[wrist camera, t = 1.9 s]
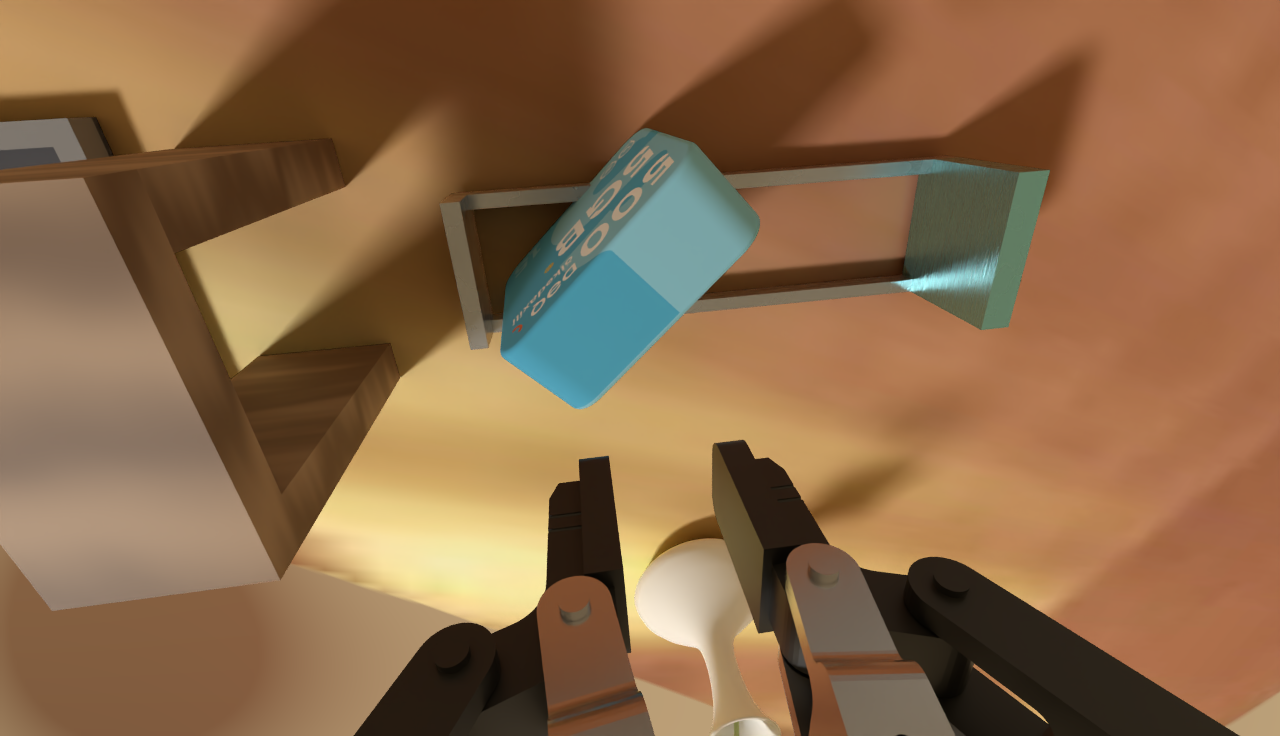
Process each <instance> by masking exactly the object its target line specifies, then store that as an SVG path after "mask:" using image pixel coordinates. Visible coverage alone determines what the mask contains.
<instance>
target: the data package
mask: <svg viewBox="0 0 1280 736" xmlns="http://www.w3.org/2000/svg"><path fill="white" fill-rule="evenodd" d="M590 184H591V186H590V188H589V189H588V190H587V191H586V192H585V193H584V194H583V195H582V197H581V198H580V199H579V200H578V201H575V202H573V203H572V204H571V205H570V206H569V207H568V209H567V210H566V211H565V212H564V213H563V214H562V215H561V216H560V218H559V219H558V220H557V221H556V222H555V223H554V224H553V226H552V227H551V228H550V229H549V230H548V231H547V232H546V234H545V235H544V236H543V237H542V238H541V239H540V240H539V242H538V243H537V244H536V245H535V246H534V247H533V248H532V249H531V251H530V252H529V253H528V254H527V255H526V256H525V257H524V259H523V260H522V261H521V262H520V263H519V265H518V266H517V267H516V268H515V270H514V271H513V273H512V274H511V276H510V277H509V279H508V281H507V284H506V289H505V301H504V313H503V325H502V337H501V349H500V351H501V355H502V357H503V358H504V359H505V360H507V361H508V362H510V363H511V364H512V365H514V366H515V367H517V368H518V369H520V370H521V371H522V372H524V373H525V374H527V375H528V376H529V377H531V378H532V379H534V380H535V381H537V382H538V383H539V384H541V385H542V386H544V387H545V388H547V389H548V390H549V391H551V392H552V393H554V394H555V395H556V396H558V397H559V398H561V399H562V400H564V401H565V402H566V403H568V404H569V405H571V406H572V407H574V408H576V409H584V408H587V407H589V406H591V405H593V404H594V403H595V402H597V401H598V400H599V399H600V398H601V397H602V396H603V395H604V394H605V393H606V392H607V391H608V390H609V389H610V388H611V387H612V386H613V385H614V384H615V383H616V382H617V381H618V380H619V379H620V378H621V377H622V376H623V375H624V374H625V373H626V372H627V371H628V370H629V369H630V368H631V367H632V366H633V365H634V364H635V363H636V362H637V361H638V360H639V359H640V358H641V357H642V356H643V355H644V354H645V353H646V352H647V351H648V350H649V349H650V348H651V347H652V346H653V345H654V344H655V343H656V342H657V341H658V340H659V339H660V338H661V337H662V336H663V335H664V334H665V333H666V332H667V331H668V330H669V329H670V328H671V327H672V326H673V325H674V324H675V323H676V322H677V321H678V320H679V319H680V318H681V317H682V316H683V314H684V313H685V312H686V311H687V310H688V309H689V308H690V307H691V306H692V305H693V304H694V303H695V302H696V301H697V300H698V299H699V298H700V297H701V296H702V295H703V294H704V293H705V292H706V291H707V290H708V289H709V288H710V287H711V286H712V285H713V284H714V283H715V282H716V281H717V280H718V279H719V278H720V277H721V276H722V275H723V274H724V273H725V272H726V271H727V270H728V269H729V268H730V267H731V266H732V265H733V264H734V263H735V262H736V261H737V260H738V259H739V258H740V257H741V256H742V255H743V254H744V253H745V252H746V251H747V249H748V248H749V247H750V246H751V244H752V243H753V241H754V240H755V238H756V236H757V234H758V231H759V227H760V219H759V216H758V215H757V213H756V212H755V211H754V210H753V209H752V208H751V207H750V205H749V204H748V203H747V202H746V201H745V200H744V199H743V197H742V196H741V195H740V194H739V193H738V192H737V191H736V189H735V188H734V187H733V186H732V185H731V184H730V183H729V181H728V180H727V179H726V178H725V177H724V176H723V175H722V173H721V172H720V171H719V170H718V169H717V168H716V167H715V165H714V164H713V163H712V162H711V161H710V160H709V159H708V157H707V156H706V155H705V154H704V153H703V152H702V151H701V149H700V148H699V147H698V146H697V145H696V144H695V143H693V142H690V141H687V140H684V139H681V138H678V137H674V136H671V135H668V134H665V133H662V132H659V131H655V130H652V129H649V128H644V129H641V130H640V131H638V132H637V133H635V134H634V135H633V136H632V137H631V138H630V139H629V140H628V141H627V142H626V143H625V144H624V145H623V146H622V147H621V148H620V149H619V150H618V152H617V153H616V154H615V155H614V156H613V157H612V158H611V160H610V161H609V162H608V163H607V164H606V165H605V166H604V168H603V169H602V170H601V171H600V172H599V173H598V174H597V175H596V177H595V178H594V179H593V180H592V181H591V182H590Z"/></svg>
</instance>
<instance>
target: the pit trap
mask: <svg viewBox="0 0 1280 736" xmlns="http://www.w3.org/2000/svg"><path fill="white" fill-rule="evenodd" d="M111 156H113V153H112V151H111V149H110V147H109V145H108V143H107V140H106V138H105V136H104V134H103V132H102V129H101V127H100V125H99V123H98V121H97V119H96V117H86V118H60V119H44V120H27V121H11V122H0V170H3V169H11V168H20V167H28V166H36V165H45V164H53V163H61V162H69V161H78V160H86V159H94V158H103V157H111Z"/></svg>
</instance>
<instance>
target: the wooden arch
mask: <svg viewBox="0 0 1280 736" xmlns="http://www.w3.org/2000/svg"><path fill="white" fill-rule="evenodd" d="M344 187H345V184H344V180H343V177H342V173H341V170H340V166H339V163H338V159H337V156H336V152H335V149H334V145H333V142H332V139H317V140H301V141H286V142H271V143H256V144H241V145H226V146H210V147H195V148H180V149H169V150H161V151H152V152H144V153H136V154H127V155H119V156H111V157H103V158H94V159H86V160H78V161H69V162H61V163H53V164H45V165H36V166H28V167H20V168H11V169H3V170H0V544H1V545H2V547H3V548H4V550H5V551H6V552H7V553H8V555H9V556H10V557H11V558H12V560H13V561H14V562H15V564H16V565H17V566H18V568H19V569H20V570H21V571H22V573H23V574H24V575H25V577H26V578H27V579H28V580H29V582H30V583H31V584H32V586H33V587H34V588H35V589H36V591H37V592H38V593H39V594H40V596H41V597H42V598H43V600H44V601H45V602H46V603H47V605H48V606H49V607H50V609H51V610H52V611H54V610H62V609H69V608H77V607H84V606H92V605H99V604H107V603H113V602H122V601H129V600H137V599H144V598H152V597H159V596H167V595H174V594H182V593H188V592H196V591H204V590H211V589H218V588H226V587H234V586H241V585H249V584H256V583H264V582H271V581H279V580H281V578H282V577H283V575H284V573H285V571H286V570H287V568H288V566H289V565H290V563H291V561H292V560H293V558H294V556H295V555H296V553H297V551H298V550H299V548H300V546H301V544H302V543H303V541H304V539H305V538H306V536H307V534H308V533H309V531H310V529H311V528H312V526H313V524H314V522H315V521H316V519H317V517H318V516H319V514H320V512H321V511H322V509H323V507H324V506H325V504H326V502H327V501H328V499H329V497H330V495H331V494H332V492H333V490H334V489H335V487H336V485H337V484H338V482H339V480H340V479H341V477H342V475H343V473H344V472H345V470H346V468H347V467H348V465H349V463H350V462H351V460H352V458H353V457H354V455H355V453H356V452H357V450H358V448H359V446H360V445H361V443H362V441H363V440H364V438H365V436H366V435H367V433H368V431H369V430H370V428H371V426H372V424H373V423H374V421H375V419H376V418H377V416H378V414H379V413H380V411H381V409H382V408H383V406H384V404H385V403H386V401H387V399H388V397H389V396H390V394H391V392H392V391H393V389H394V387H395V386H396V384H397V382H398V381H399V379H400V376H399V372H398V369H397V365H396V362H395V358H394V355H393V351H392V348H391V344H390V343H388V344H378V345H368V346H357V347H347V348H337V349H327V350H317V351H307V352H297V353H287V354H276V355H266V356H258V357H257V358H256V359H255V360H253V361H252V362H251V363H250V364H249V365H247V366H246V367H245V368H244V369H243V370H241V371H240V372H239V373H238V374H237V375H235V376H234V377H233V378H232V379H231V380H230V378H229V375H228V373H227V371H226V369H225V366H224V364H223V362H222V360H221V357H220V355H219V353H218V351H217V348H216V346H215V344H214V342H213V339H212V337H211V335H210V333H209V330H208V328H207V326H206V324H205V321H204V319H203V317H202V315H201V312H200V310H199V308H198V306H197V303H196V301H195V299H194V297H193V294H192V292H191V290H190V288H189V285H188V283H187V281H186V279H185V276H184V274H183V272H182V270H181V267H180V265H179V263H178V261H177V258H176V256H175V254H174V253H177V252H179V251H182V250H184V249H187V248H189V247H192V246H195V245H197V244H200V243H202V242H205V241H207V240H210V239H213V238H215V237H218V236H220V235H223V234H225V233H228V232H231V231H233V230H236V229H238V228H241V227H243V226H246V225H249V224H251V223H254V222H256V221H259V220H261V219H264V218H266V217H269V216H272V215H274V214H277V213H279V212H282V211H284V210H287V209H290V208H292V207H295V206H297V205H300V204H302V203H305V202H308V201H310V200H313V199H315V198H318V197H320V196H323V195H326V194H328V193H331V192H333V191H336V190H338V189H341V188H344Z"/></svg>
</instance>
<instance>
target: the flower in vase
mask: <svg viewBox="0 0 1280 736" xmlns="http://www.w3.org/2000/svg"><path fill="white" fill-rule="evenodd" d="M634 598H635V606H636V610H637V612H638V614H639V616H640V617H641V619H642V620H643V622H644V623H645V625H646V626H647V627H648V628H649V629H650V630H651V631H652V632H653V633H655V634H656V635H658V636H660V637H662V638H664V639H666V640H668V641H670V642H673V643H676V644H680V645H684V646H689V647H695V648H698V649H699V650H700V651H701V653H702V655H703V657H704V659H705V662H706V665H707V669H708V672H709V677H710V682H711V688H712V695H713V709H714V715H713V724H712V728H711V732H710V734H709V736H781V730H780V727H779V726H778V724H777V723H776V722H775V721H773V720H772V719H771V718H769V717H768V716H767V715H765V714H764V713H763V712H762V711H761V710H760V708H759V707H758V706H757V705H756V703H755V702H754V700H753V698H752V697H751V695H750V693H749V691H748V689H747V687H746V685H745V682H744V680H743V678H742V676H741V673H740V670H739V667H738V664H737V661H736V657H735V653H734V647H733V641H734V638H735V636H736V635H738V634H739V633H740V632H741V631H742V630H743V629H744V628H745V627H746V626H747V625H748V624H749V623H750V622H751V621H752V620H753V617H752V614H751V612H750V609H749V606H748V603H747V601H746V598H745V595H744V593H743V590H742V587H741V584H740V582H739V579H738V576H737V573H736V571H735V568H734V565H733V563H732V560H731V557H730V554H729V552H728V549H727V546H726V544H725V541H724V539H716V538H705V539H696V540H692V541H687V542H684V543H681V544H679V545H676V546H674V547H672V548H670V549H668V550H667V551H665V552H663V553H662V554H661V555H659V556H658V557H657V558H656V559H654V560H653V561H652V562H651V563H650V565H649V566H648V567H647V568H646V570H645V571H644V573H643V574H642V576H641V577H640V579H639V581H638V584H637V586H636V590H635V597H634Z"/></svg>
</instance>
